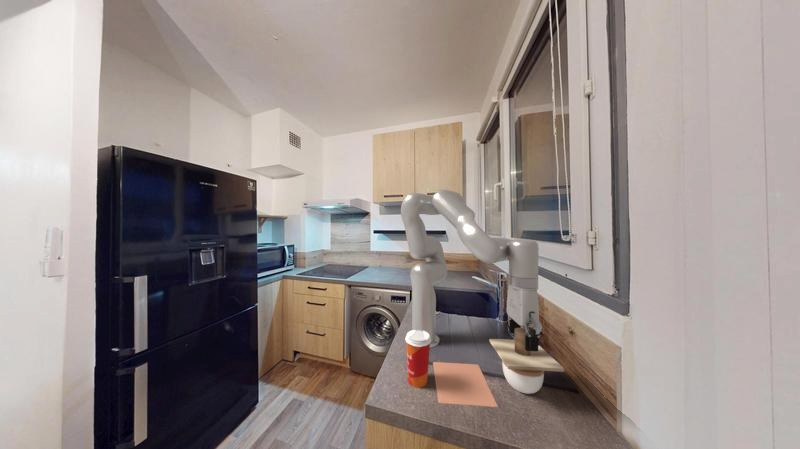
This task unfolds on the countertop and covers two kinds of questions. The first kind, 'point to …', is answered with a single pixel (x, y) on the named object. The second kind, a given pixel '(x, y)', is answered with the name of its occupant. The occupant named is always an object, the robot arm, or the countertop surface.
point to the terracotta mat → (462, 385)
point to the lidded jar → (524, 379)
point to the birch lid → (524, 354)
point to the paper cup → (417, 357)
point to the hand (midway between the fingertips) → (522, 341)
